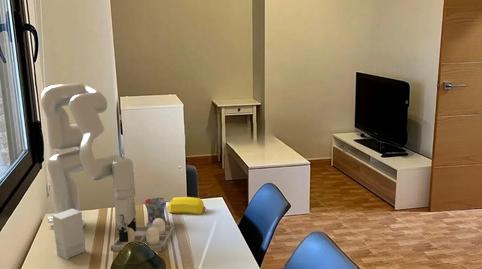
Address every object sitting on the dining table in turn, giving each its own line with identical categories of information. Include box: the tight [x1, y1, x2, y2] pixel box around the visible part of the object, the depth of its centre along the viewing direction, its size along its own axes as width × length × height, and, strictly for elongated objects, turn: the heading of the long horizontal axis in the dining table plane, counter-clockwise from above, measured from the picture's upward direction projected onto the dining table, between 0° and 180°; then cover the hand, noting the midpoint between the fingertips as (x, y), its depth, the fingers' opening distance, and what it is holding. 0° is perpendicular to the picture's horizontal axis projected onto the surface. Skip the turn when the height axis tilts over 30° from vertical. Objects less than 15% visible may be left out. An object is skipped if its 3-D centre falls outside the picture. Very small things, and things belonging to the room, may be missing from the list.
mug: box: [143, 197, 168, 226], centre depth 193 cm, size 12×9×11 cm
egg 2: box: [152, 218, 166, 235], centre depth 181 cm, size 5×5×7 cm
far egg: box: [146, 227, 160, 246], centre depth 172 cm, size 5×5×7 cm
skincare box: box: [51, 209, 87, 260], centre depth 167 cm, size 8×7×16 cm
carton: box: [110, 225, 176, 252], centre depth 177 cm, size 19×19×2 cm
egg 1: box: [122, 227, 135, 246], centre depth 172 cm, size 5×5×7 cm
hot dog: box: [166, 196, 207, 215], centre depth 206 cm, size 18×7×8 cm
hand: (128, 236), depth 172 cm, fingers open, 9 cm apart
